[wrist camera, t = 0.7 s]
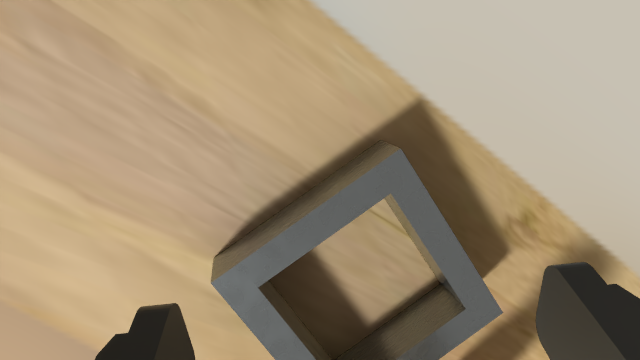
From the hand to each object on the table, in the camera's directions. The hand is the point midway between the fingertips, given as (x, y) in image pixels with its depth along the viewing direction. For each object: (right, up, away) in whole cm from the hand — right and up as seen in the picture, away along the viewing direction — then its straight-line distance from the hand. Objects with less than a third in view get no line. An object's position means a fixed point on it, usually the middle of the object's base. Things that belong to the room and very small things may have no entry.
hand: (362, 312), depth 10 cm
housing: (+1, -4, +23) cm, 24 cm away
